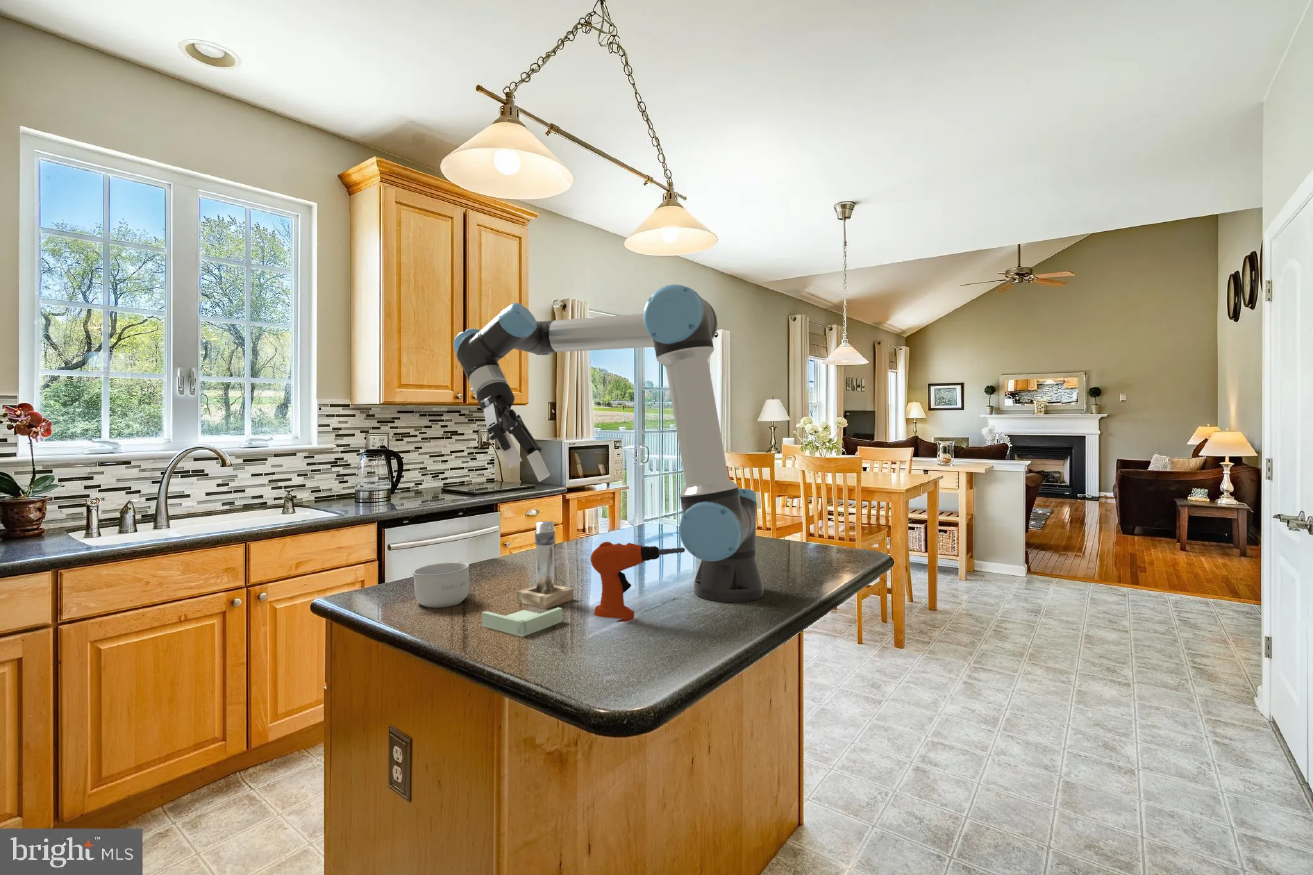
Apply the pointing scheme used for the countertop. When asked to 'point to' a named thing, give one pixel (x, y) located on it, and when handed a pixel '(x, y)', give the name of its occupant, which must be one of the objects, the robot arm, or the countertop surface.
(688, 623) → the countertop surface
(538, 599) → the socket
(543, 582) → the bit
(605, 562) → the toy drill
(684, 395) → the robot arm
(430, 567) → the teacup
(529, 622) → the pale green flat tray
